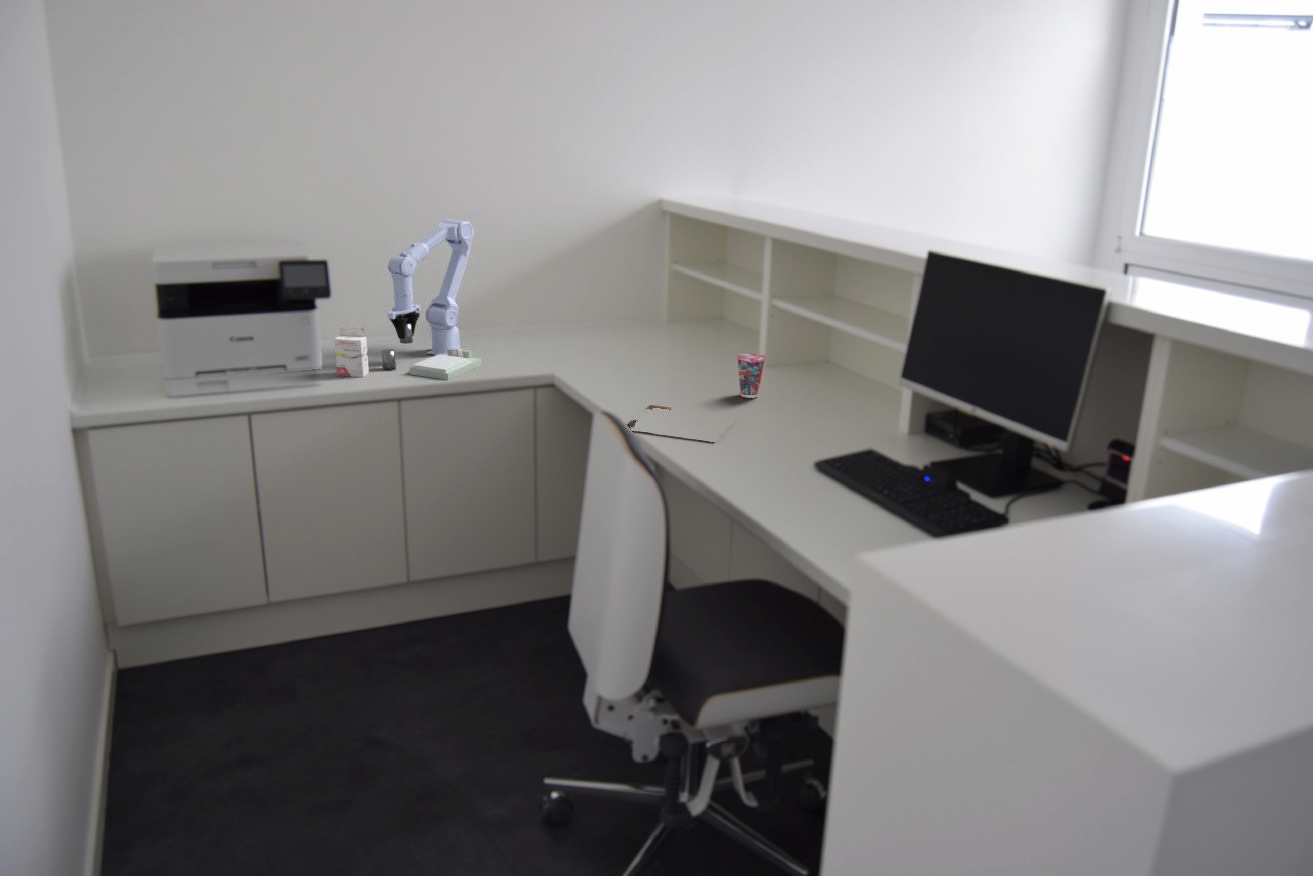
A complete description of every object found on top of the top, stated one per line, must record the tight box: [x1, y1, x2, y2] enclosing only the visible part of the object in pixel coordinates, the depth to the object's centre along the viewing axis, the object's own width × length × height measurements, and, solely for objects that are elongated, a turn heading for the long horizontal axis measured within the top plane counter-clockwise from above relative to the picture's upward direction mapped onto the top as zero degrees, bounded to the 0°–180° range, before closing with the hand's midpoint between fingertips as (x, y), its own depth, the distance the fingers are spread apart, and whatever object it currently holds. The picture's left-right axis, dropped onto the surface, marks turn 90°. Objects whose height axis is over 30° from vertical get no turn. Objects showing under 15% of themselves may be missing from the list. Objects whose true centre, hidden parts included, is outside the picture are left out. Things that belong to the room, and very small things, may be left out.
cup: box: [736, 352, 767, 395], centre depth 292 cm, size 9×8×12 cm
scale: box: [408, 348, 482, 381], centre depth 313 cm, size 19×14×5 cm
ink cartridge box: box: [334, 325, 370, 378], centre depth 304 cm, size 9×5×15 cm, turn 84°
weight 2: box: [399, 322, 414, 345], centre depth 317 cm, size 4×4×6 cm
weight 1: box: [381, 348, 397, 372], centre depth 312 cm, size 4×4×6 cm
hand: (406, 336), depth 318 cm, fingers closed on weight 2, 4 cm apart
